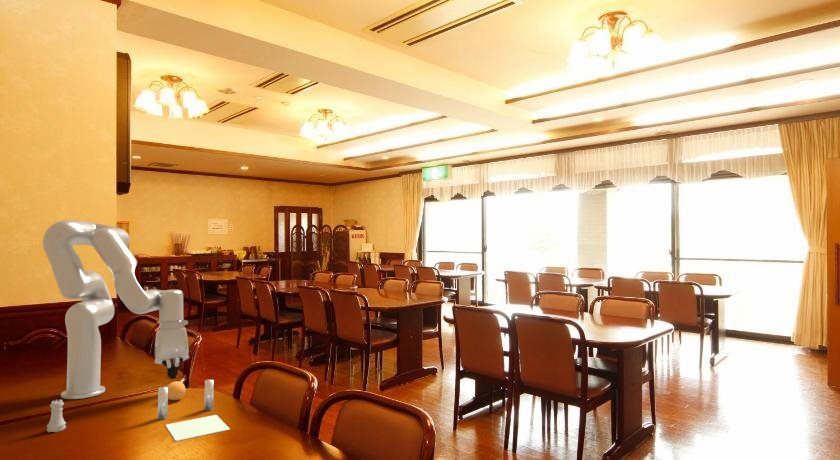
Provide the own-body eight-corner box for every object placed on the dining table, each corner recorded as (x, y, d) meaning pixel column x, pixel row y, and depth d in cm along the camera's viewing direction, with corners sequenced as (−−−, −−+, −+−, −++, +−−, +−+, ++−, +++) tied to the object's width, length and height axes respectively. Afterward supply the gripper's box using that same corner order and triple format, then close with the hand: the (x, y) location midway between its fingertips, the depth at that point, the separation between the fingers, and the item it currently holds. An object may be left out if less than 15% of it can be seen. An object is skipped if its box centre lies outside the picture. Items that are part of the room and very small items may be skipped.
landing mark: (165, 425, 142) (165, 424, 142) (216, 415, 150) (216, 414, 150) (175, 441, 131) (175, 440, 131) (230, 429, 139) (230, 428, 139)
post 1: (156, 417, 148) (157, 387, 148) (166, 415, 149) (167, 385, 150) (158, 420, 146) (159, 389, 146) (168, 418, 147) (168, 388, 148)
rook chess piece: (55, 433, 135) (56, 404, 135) (42, 432, 136) (42, 403, 136) (70, 427, 140) (70, 399, 140) (57, 426, 140) (57, 398, 141)
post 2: (203, 409, 156) (203, 380, 156) (211, 407, 157) (212, 378, 158) (205, 411, 154) (205, 382, 154) (214, 409, 155) (214, 380, 155)
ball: (163, 399, 165) (163, 381, 165) (183, 395, 169) (183, 378, 169) (167, 404, 160) (167, 385, 160) (187, 400, 164) (187, 382, 164)
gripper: (192, 321, 180) (192, 372, 180) (145, 326, 171) (146, 380, 171) (197, 324, 174) (198, 376, 174) (149, 329, 165) (150, 385, 165)
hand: (172, 378), depth 172 cm, fingers closed
